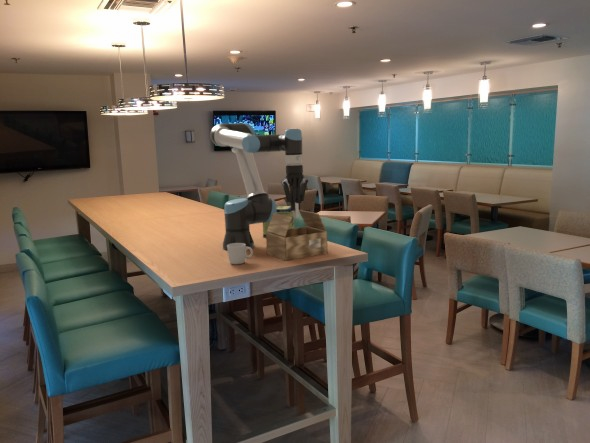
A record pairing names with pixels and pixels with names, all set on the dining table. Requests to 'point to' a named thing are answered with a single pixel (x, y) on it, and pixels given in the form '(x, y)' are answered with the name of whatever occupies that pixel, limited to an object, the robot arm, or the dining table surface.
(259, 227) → the dining table surface
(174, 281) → the dining table surface
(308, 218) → the flap right
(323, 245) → the carton
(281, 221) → the flap left
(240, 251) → the cup
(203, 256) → the dining table surface
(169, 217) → the dining table surface
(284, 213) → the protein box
